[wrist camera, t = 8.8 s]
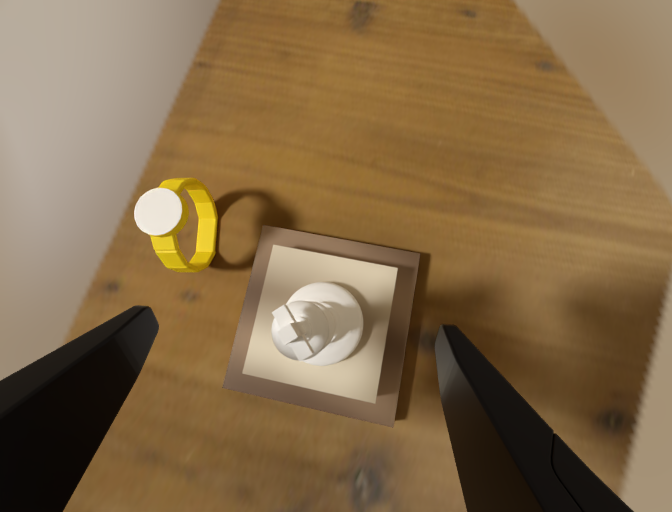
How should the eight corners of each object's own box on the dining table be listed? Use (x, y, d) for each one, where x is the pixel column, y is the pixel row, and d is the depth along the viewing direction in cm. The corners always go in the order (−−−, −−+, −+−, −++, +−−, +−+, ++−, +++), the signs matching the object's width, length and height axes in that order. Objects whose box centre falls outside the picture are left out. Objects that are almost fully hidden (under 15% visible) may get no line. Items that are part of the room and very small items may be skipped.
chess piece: (335, 267, 19) (316, 216, 9) (379, 336, 18) (412, 364, 8) (267, 309, 18) (171, 305, 9) (308, 381, 18) (253, 469, 8)
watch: (225, 274, 22) (179, 268, 16) (188, 274, 22) (129, 268, 16) (228, 194, 23) (185, 160, 17) (192, 194, 23) (136, 162, 17)
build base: (391, 421, 19) (397, 437, 17) (228, 383, 20) (211, 394, 18) (417, 256, 21) (425, 249, 19) (267, 228, 22) (256, 218, 20)
